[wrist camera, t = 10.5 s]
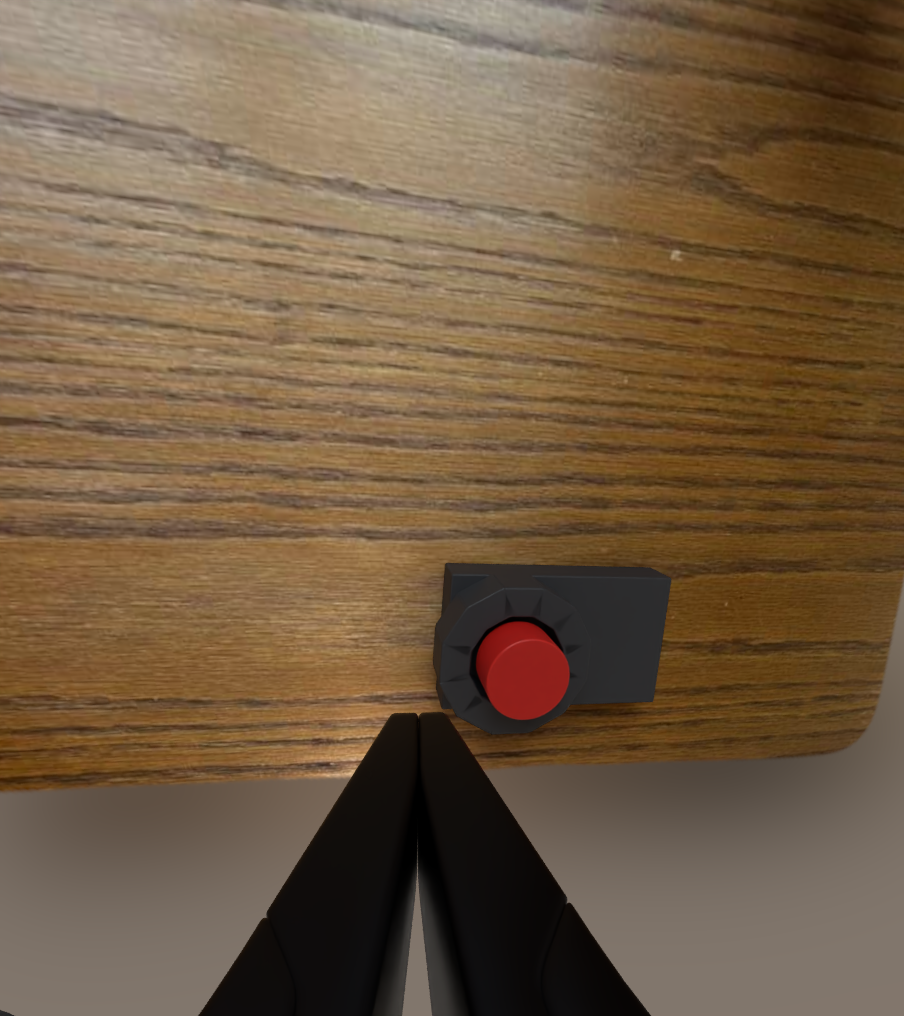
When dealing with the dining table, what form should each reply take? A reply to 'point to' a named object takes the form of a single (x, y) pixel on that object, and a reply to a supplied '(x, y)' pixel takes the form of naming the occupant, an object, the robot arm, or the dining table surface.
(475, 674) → the switch block
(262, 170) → the dining table surface
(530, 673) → the stop button
